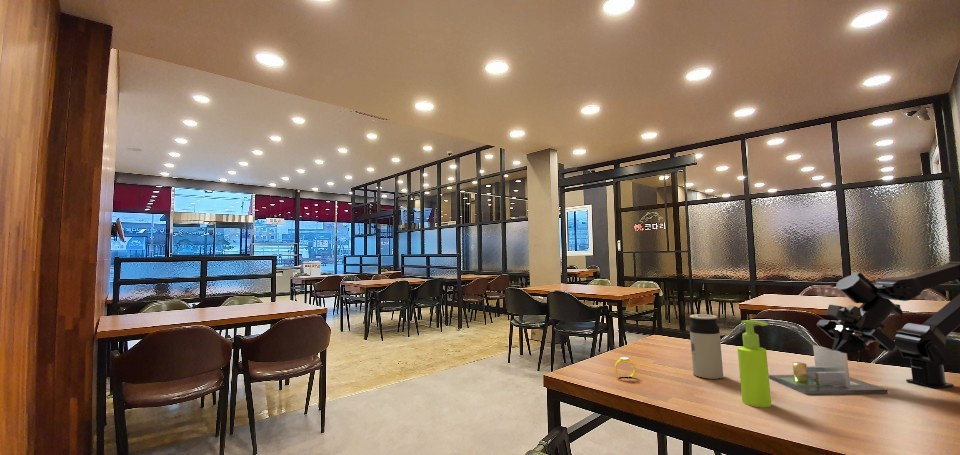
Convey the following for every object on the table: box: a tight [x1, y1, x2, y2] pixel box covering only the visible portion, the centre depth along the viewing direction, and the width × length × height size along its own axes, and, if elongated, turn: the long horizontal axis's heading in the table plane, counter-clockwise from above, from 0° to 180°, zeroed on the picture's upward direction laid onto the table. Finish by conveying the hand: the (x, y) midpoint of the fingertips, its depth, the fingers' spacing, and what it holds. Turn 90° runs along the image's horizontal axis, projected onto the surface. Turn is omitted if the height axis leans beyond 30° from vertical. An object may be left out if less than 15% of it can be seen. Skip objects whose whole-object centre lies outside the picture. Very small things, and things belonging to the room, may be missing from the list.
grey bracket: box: [807, 344, 850, 386], centre depth 108 cm, size 6×10×8 cm, turn 177°
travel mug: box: [689, 313, 724, 380], centre depth 121 cm, size 8×8×18 cm
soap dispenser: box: [737, 319, 772, 408], centre depth 97 cm, size 6×7×20 cm
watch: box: [614, 356, 637, 378], centre depth 121 cm, size 6×3×6 cm, turn 80°
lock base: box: [768, 361, 889, 396], centre depth 108 cm, size 20×14×6 cm
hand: (832, 356), depth 108 cm, fingers closed, pressing on grey bracket
